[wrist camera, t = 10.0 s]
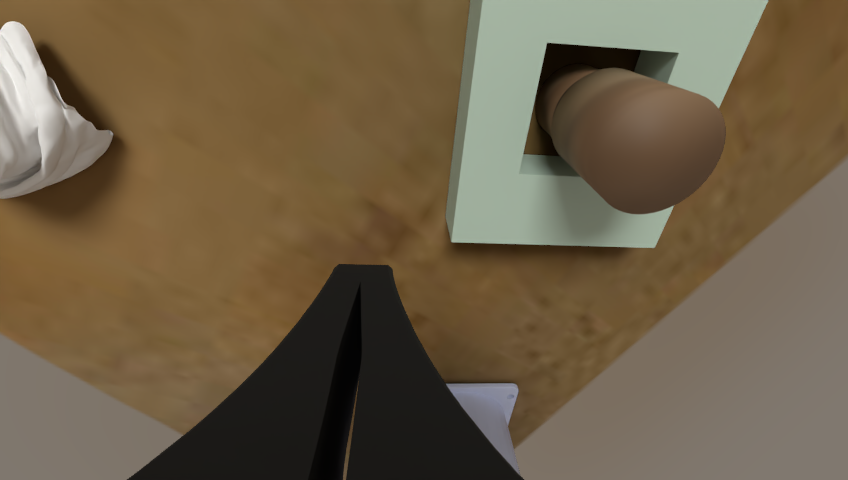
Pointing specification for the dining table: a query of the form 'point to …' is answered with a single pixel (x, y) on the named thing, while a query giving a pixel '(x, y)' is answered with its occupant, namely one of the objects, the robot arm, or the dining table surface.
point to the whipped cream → (38, 122)
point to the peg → (631, 135)
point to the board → (515, 94)
